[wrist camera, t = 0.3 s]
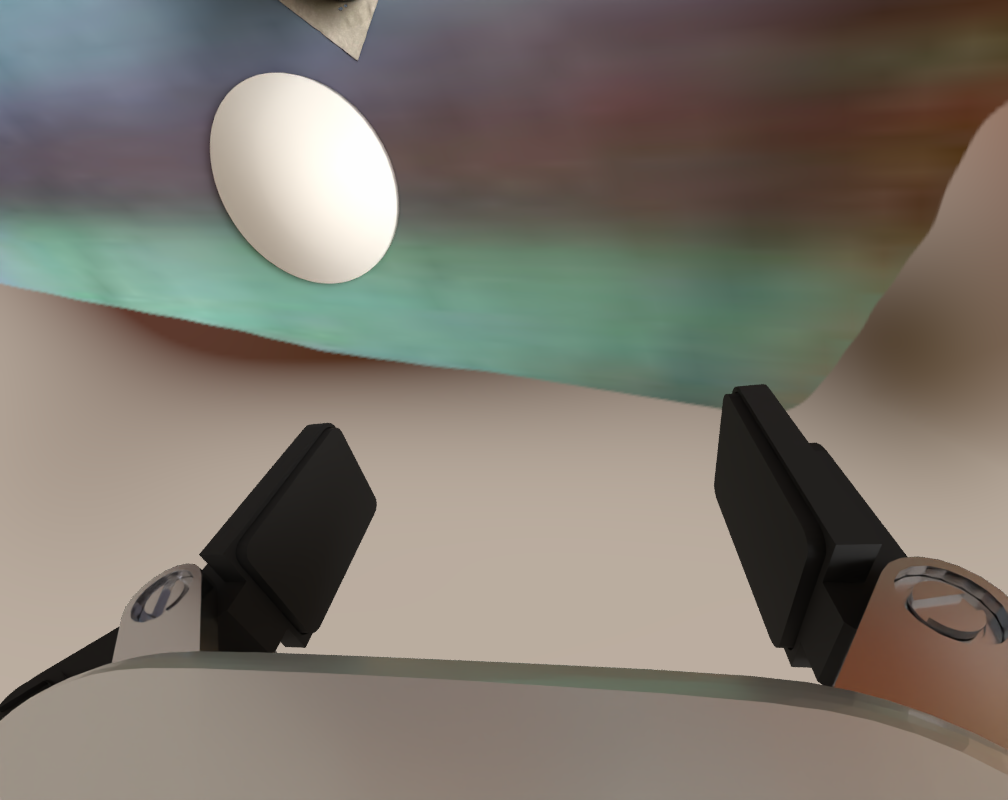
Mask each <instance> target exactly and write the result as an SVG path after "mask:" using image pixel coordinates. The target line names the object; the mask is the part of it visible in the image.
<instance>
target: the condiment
mask: <svg viewBox="0 0 1008 800" xmlns="http://www.w3.org/2000/svg"><path fill="white" fill-rule="evenodd" d="M279 1H280V2H281V3H283V4H284V5H285V6H287V7H288V8H289V9H291V10H292V11H293V12H295V13H296V14H297V15H299V16H300V17H301V18H303V19H304V20H305V21H307V22H308V23H309V24H311V25H312V26H313V27H314V28H316V29H317V30H319V31H320V32H321V33H322V34H324V35H325V36H326V37H327V38H329V39H330V40H331V41H333V42H334V43H335V44H337V45H338V46H339V47H341V48H342V49H343V50H344V51H346V52H347V53H348V54H350V55H351V56H352V57H354V58H355V59H356V60H357V61H358V58H359V55H360V52H361V49H362V46H363V43H364V41H365V37H366V34H367V30H368V28H369V25H370V22H371V19H372V16H373V13H374V10H375V8H376V4H377V2H378V0H279ZM344 4H347V5H348V6H347V7H344ZM340 7H343V10H341V11H339V10H338V8H340Z"/></svg>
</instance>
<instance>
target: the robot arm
mask: <svg viewBox="0 0 1008 800" xmlns="http://www.w3.org/2000/svg"><path fill="white" fill-rule="evenodd" d="M714 489H715V494H716V498H717V501H718V503H719V506H720V509H721V512H722V514H723V517H724V519H725V522H726V525H727V527H728V530H729V532H730V535H731V538H732V540H733V543H734V545H735V548H736V551H737V553H738V556H739V559H740V561H741V564H742V566H743V569H744V572H745V574H746V577H747V579H748V582H749V585H750V587H751V590H752V592H753V595H754V597H755V600H756V603H757V606H758V608H759V611H760V613H761V616H762V619H763V621H764V624H765V626H766V629H767V632H768V634H769V637H770V639H771V641H772V643H773V644H774V646H775V647H777V648H784V649H785V652H786V654H787V657H788V659H789V662H790V664H791V666H792V667H809V668H812V670H813V671H814V674H815V677H816V679H817V681H818V682H820V683H821V684H822V685H819V684H813V683H808V682H799V681H791V680H782V679H772V678H763V677H755V676H743V675H727V674H712V673H696V672H682V671H667V670H651V669H631V668H610V667H589V666H568V665H548V664H528V663H507V662H484V661H462V660H439V659H415V658H391V657H390V658H389V657H368V656H342V655H315V654H287V653H286V654H285V653H277V652H276V649H277V647H278V645H279V643H280V642H281V643H282V644H283V645H284V646H285V647H303V648H305V647H306V646H307V644H308V642H309V639H310V637H311V635H312V633H314V632H316V631H317V630H318V629H319V627H320V625H321V623H322V621H323V619H324V617H325V615H326V613H327V611H328V609H329V607H330V605H331V603H332V601H333V598H334V596H335V594H336V592H337V590H338V588H339V586H340V584H341V582H342V580H343V578H344V576H345V574H346V572H347V569H348V567H349V565H350V563H351V561H352V559H353V557H354V555H355V553H356V550H357V548H358V547H359V545H360V543H361V540H362V538H363V536H364V534H365V532H366V530H367V528H368V526H369V524H370V522H371V520H372V518H373V516H374V513H375V511H376V506H377V504H376V503H377V502H376V498H375V496H374V494H373V492H372V490H371V488H370V486H369V484H368V482H367V480H366V479H365V476H364V474H363V473H362V471H361V469H360V467H359V465H358V463H357V461H356V459H355V457H354V455H353V453H352V451H351V449H350V447H349V445H348V443H347V441H346V439H345V437H344V435H343V434H342V432H341V430H340V429H338V428H336V427H335V426H334V425H333V424H331V423H323V424H312V425H307V426H306V427H305V428H304V430H302V432H301V433H300V434H299V435H298V437H297V438H296V439H295V440H294V441H293V443H292V444H291V445H290V446H289V447H288V448H287V450H286V451H285V452H284V453H283V454H282V456H281V457H280V458H279V459H278V460H277V462H276V463H275V464H274V466H272V468H271V469H270V470H269V471H268V472H267V474H266V475H265V476H264V477H263V478H262V480H261V481H260V482H259V484H257V486H256V487H255V488H254V489H253V491H252V492H251V493H250V494H249V495H248V497H247V498H246V499H245V500H244V501H243V502H242V504H241V505H240V506H239V507H238V509H237V510H236V511H235V512H234V513H233V515H232V516H231V517H230V518H229V519H228V521H227V522H226V523H225V524H224V525H223V527H222V528H221V529H220V530H219V531H218V533H217V534H216V535H215V536H214V537H213V539H212V540H211V541H210V542H209V543H208V545H207V546H206V547H205V548H204V549H203V551H202V552H201V553H200V554H199V555H200V556H201V557H202V558H203V559H204V560H205V561H206V562H207V563H208V564H207V565H206V566H205V568H204V569H203V570H201V569H200V568H199V567H198V566H197V565H195V564H183V565H179V566H175V567H173V568H171V569H168V570H166V571H164V572H163V573H161V574H159V575H158V576H156V577H154V578H153V579H152V580H151V581H149V582H148V583H147V584H145V585H144V586H143V587H142V588H141V589H140V590H139V591H138V592H137V593H136V594H135V595H134V596H133V597H132V599H131V600H130V601H129V603H128V604H127V606H126V607H125V610H124V612H123V615H122V617H121V622H120V627H118V628H116V629H114V630H113V631H111V632H110V633H108V634H106V635H104V636H103V637H101V638H99V639H98V640H96V641H94V642H93V643H91V644H89V645H87V646H86V647H84V648H83V649H81V650H79V651H77V652H76V653H74V654H72V655H71V656H69V657H67V658H66V659H64V660H62V661H60V662H59V663H57V664H55V665H54V666H52V667H50V668H49V669H47V670H45V671H44V672H42V673H40V674H39V675H37V676H36V677H34V678H33V679H31V680H30V681H28V682H26V683H25V684H23V685H21V686H20V687H18V688H17V689H15V691H13V692H12V693H11V694H10V695H9V696H7V697H6V698H5V699H4V701H3V702H2V703H1V704H0V800H1008V596H1007V595H1006V594H1005V593H1004V592H1002V591H1001V590H1000V589H998V588H997V587H996V586H994V585H993V584H991V583H990V582H988V581H987V580H985V579H984V578H982V577H981V576H979V575H976V574H974V573H972V572H970V571H968V570H966V569H964V568H962V567H960V566H957V565H954V564H951V563H948V562H945V561H942V560H938V559H932V558H925V557H907V556H906V554H905V553H904V552H903V550H902V549H901V548H900V546H899V545H898V544H897V542H896V541H895V540H894V539H893V537H892V536H891V535H890V533H889V532H888V531H887V529H886V528H885V527H884V525H883V524H882V523H881V521H880V520H879V519H878V518H877V516H876V515H875V514H874V512H873V511H872V510H871V508H870V507H869V506H868V504H867V503H866V502H865V500H864V499H863V498H862V497H861V495H860V494H859V493H858V491H857V490H856V489H855V487H854V486H853V485H852V483H851V482H850V481H849V480H848V478H847V477H846V476H845V474H844V473H843V472H842V470H841V469H840V468H839V466H838V465H837V464H836V462H834V460H833V458H832V457H831V456H830V455H829V454H828V452H827V451H826V450H825V449H824V448H823V447H822V446H821V445H820V444H817V443H808V441H807V440H806V438H805V437H804V436H803V434H802V433H801V432H800V430H799V429H798V427H797V426H796V425H795V423H794V422H793V421H792V419H791V418H790V416H789V415H788V414H787V412H786V411H785V410H784V408H783V407H782V405H781V404H780V403H779V401H778V400H777V398H776V397H775V396H774V394H773V393H772V392H771V390H770V389H769V387H768V386H767V385H764V384H761V385H749V386H738V387H735V388H734V389H733V392H732V394H726V395H725V396H724V398H723V406H722V416H721V425H720V434H719V443H718V454H717V463H716V472H715V481H714Z"/></svg>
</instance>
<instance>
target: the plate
mask: <svg viewBox="0 0 1008 800" xmlns="http://www.w3.org/2000/svg"><path fill="white" fill-rule="evenodd" d="M210 158H211V166H212V171H213V176H214V180H215V184H216V186H217V189H218V192H219V195H220V198H221V200H222V202H223V204H224V206H225V209H226V210H227V212H228V214H229V216H230V217H231V219H232V221H233V222H234V224H235V225H236V227H237V228H238V230H239V231H240V232H241V234H242V235H243V236H244V237H245V238H246V240H247V241H248V242H249V243H250V244H251V245H252V246H253V247H254V248H255V249H256V250H257V251H258V252H259V253H260V254H261V255H262V256H264V257H265V258H266V259H267V260H268V261H270V262H271V263H273V264H274V265H276V266H277V267H279V268H280V269H282V270H284V271H286V272H287V273H289V274H292V275H294V276H296V277H299V278H302V279H305V280H308V281H312V282H318V283H330V284H331V283H341V282H346V281H350V280H352V279H355V278H357V277H360V276H361V275H363V274H364V273H366V272H368V271H369V270H370V269H371V268H373V267H374V266H375V265H376V264H377V263H378V262H379V261H380V260H381V259H382V258H383V257H384V255H385V254H386V252H387V251H388V249H389V247H390V246H391V243H392V241H393V238H394V236H395V232H396V229H397V225H398V217H399V195H398V187H397V182H396V178H395V173H394V170H393V167H392V164H391V161H390V158H389V156H388V154H387V152H386V150H385V148H384V145H383V143H382V142H381V140H380V138H379V137H378V135H377V133H376V132H375V130H374V129H373V128H372V126H371V125H370V124H369V122H368V121H367V119H366V118H365V117H364V116H363V115H362V114H361V113H360V112H359V111H358V109H357V108H356V107H355V106H354V105H352V104H351V103H350V102H349V101H348V100H347V99H345V98H344V97H343V96H342V95H340V94H339V93H337V92H336V91H334V90H333V89H331V88H330V87H328V86H326V85H324V84H322V83H320V82H318V81H316V80H313V79H310V78H307V77H304V76H299V75H293V74H287V73H266V74H260V75H256V76H254V77H251V78H248V79H246V80H244V81H243V82H241V83H240V84H238V85H237V86H235V87H234V88H233V89H232V90H231V91H230V92H229V93H228V94H227V95H226V97H225V98H224V100H223V101H222V103H221V104H220V106H219V108H218V110H217V113H216V115H215V118H214V121H213V125H212V130H211V137H210Z"/></svg>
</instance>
